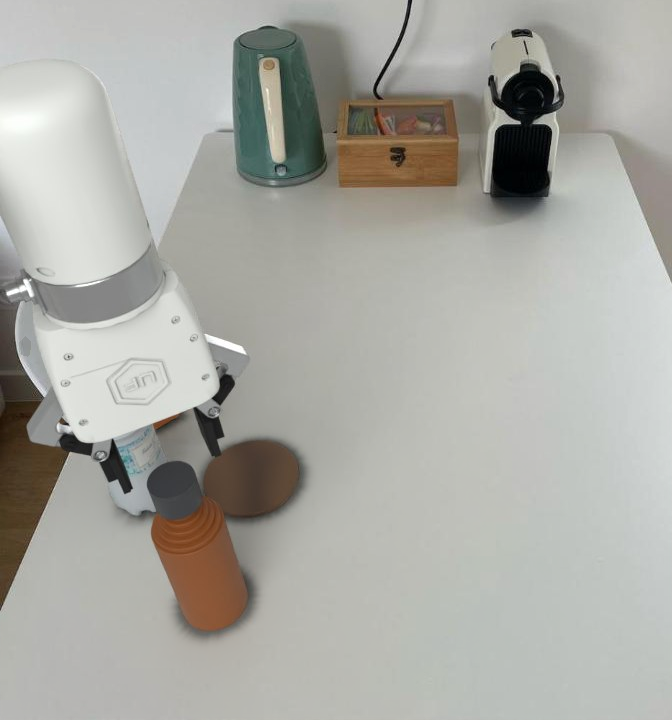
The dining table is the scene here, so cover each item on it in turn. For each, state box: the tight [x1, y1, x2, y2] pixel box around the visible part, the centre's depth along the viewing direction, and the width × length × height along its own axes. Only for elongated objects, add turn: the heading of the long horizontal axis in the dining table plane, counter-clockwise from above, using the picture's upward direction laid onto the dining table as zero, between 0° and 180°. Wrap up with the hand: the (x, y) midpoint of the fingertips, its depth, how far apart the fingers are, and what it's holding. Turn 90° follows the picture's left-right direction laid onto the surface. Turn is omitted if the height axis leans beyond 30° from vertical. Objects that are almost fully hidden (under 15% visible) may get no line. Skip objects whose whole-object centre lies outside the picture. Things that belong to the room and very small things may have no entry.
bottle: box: [83, 420, 169, 517], centre depth 78 cm, size 7×7×20 cm
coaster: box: [202, 439, 300, 519], centre depth 86 cm, size 10×10×1 cm
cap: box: [147, 460, 203, 520], centre depth 64 cm, size 4×4×3 cm
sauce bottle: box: [150, 494, 249, 632], centre depth 69 cm, size 6×6×18 cm
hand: (168, 460), depth 62 cm, fingers open, 6 cm apart
